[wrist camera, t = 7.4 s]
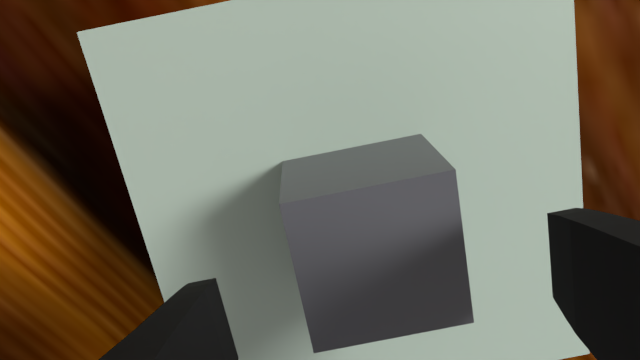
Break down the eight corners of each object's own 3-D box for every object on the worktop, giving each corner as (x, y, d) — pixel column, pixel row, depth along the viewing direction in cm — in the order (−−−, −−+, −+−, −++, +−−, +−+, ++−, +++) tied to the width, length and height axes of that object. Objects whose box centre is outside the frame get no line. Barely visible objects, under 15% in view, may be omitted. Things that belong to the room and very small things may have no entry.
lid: (577, 339, 19) (656, 433, 15) (208, 409, 19) (184, 521, 15) (556, -66, 15) (657, -93, 11) (88, 30, 15) (9, 40, 11)
